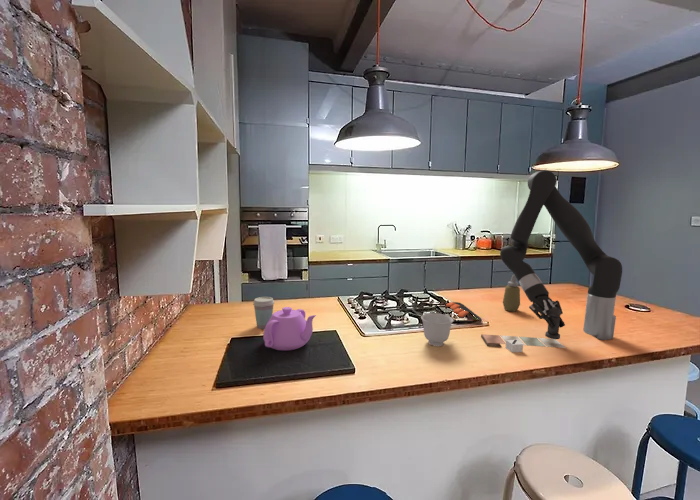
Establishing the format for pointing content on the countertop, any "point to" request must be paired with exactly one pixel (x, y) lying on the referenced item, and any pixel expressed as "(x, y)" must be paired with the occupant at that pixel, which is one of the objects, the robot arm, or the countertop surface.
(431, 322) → the teacup
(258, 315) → the coffee cup
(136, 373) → the countertop surface
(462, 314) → the sushi plate
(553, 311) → the pawn
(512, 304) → the squeeze bottle
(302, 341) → the teapot
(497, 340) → the board
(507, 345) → the die
